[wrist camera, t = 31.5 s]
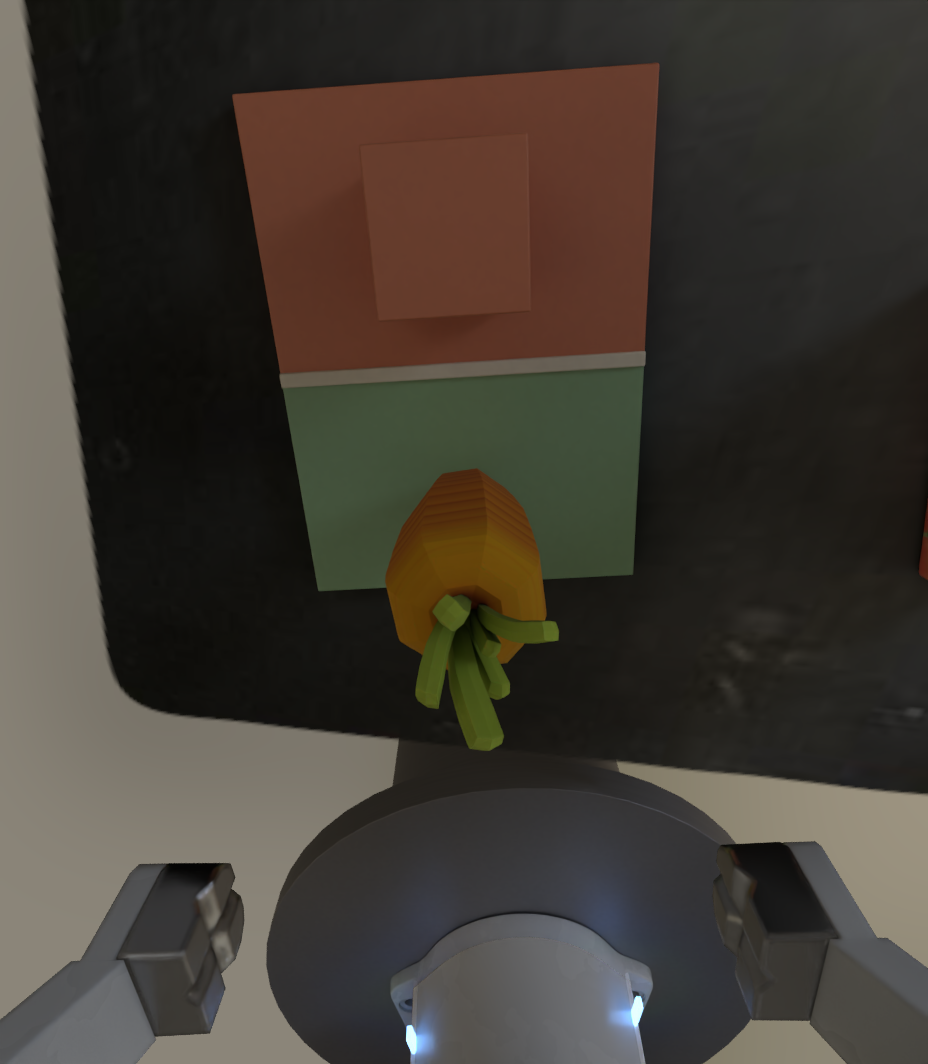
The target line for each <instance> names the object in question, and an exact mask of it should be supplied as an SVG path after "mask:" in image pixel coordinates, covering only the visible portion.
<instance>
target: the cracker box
mask: <svg viewBox="0 0 928 1064" xmlns="http://www.w3.org/2000/svg"><path fill="white" fill-rule="evenodd" d="M919 575H921V576H922V577H924V578H925V579H927V580H928V500H927V509H926V515H925V524H924V533H923V540H922V548H921V556H920V563H919Z"/></svg>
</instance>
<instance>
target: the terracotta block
mask: <svg viewBox="0 0 928 1064" xmlns="http://www.w3.org/2000/svg"><path fill="white" fill-rule="evenodd" d="M359 156H360V165H361V174H362V184H363V193H364V202H365V211H366V220H367V229H368V238H369V247H370V256H371V265H372V274H373V283H374V292H375V301H376V310H377V319H378V321H379V322H386V321H401V320H417V319H432V318H448V317H463V316H479V315H495V314H510V313H526V312H530V311H531V275H530V219H529V163H528V134H527V133H511V134H498V135H484V136H470V137H456V138H442V139H428V140H414V141H400V142H386V143H373V144H361V145H359Z"/></svg>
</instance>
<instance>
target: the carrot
mask: <svg viewBox="0 0 928 1064" xmlns="http://www.w3.org/2000/svg"><path fill="white" fill-rule="evenodd" d="M385 583H386V587H387V591H388V596H389V600H390V604H391V608H392V612H393V617H394V621H395V625H396V629H397V634H398V637H399V640H400V642H402V643H404V644H405V645H407V646H409V647H410V648H412V649H414V650H415V651H417V652H419V653H420V654H422V655H423V656H422V660H421V663H420V667H419V673H418V678H417V683H416V695H415V696H416V698H417V700H418V701H419V702H421V703H422V704H423V705H425V706H426V707H428V708H436V709H438V707H439V702H440V697H441V692H442V687H443V682H444V676H445V671H446V669H447V670H448V673H449V684H450V691H451V695H452V698H453V702H454V706H455V709H456V713H457V717H458V720H459V723H460V726H461V729H462V731H463V734H464V737H465V739H466V742H467V745H468V747H469V749H476V750H483V751H489V750H491V749H493V748H495V747H497V746H499V745H500V744H502V741H503V738H504V735H503V732H502V729H501V726H500V724H499V721H498V718H497V715H496V713H495V710H494V707H493V705H492V702H491V700H490V698H489V697H491V698H493V699H496V700H498V699H501V698H503V697H505V696H507V695H508V694H509V693H510V683H509V680H508V678H507V676H506V674H505V672H504V670H503V668H502V666H501V664H503V663H507V662H508V661H509V660H510V659H511V658H512V657H513V656H514V655H515V654H516V652H517V651H518V650H519V649H520V648H521V647H522V646H523V645H524V644H525V643H544V642H550V641H557V640H558V637H559V630H558V627H557V624H556V622H553V621H545V618H546V604H545V596H544V588H543V580H542V572H541V564H540V556H539V551H538V548H537V545H536V542H535V538H534V535H533V532H532V529H531V526H530V524H529V521H528V518H527V516H526V513H525V511H524V509H523V507H522V506H521V505H520V503H519V502H518V501H517V500H516V498H515V497H514V496H513V495H512V494H511V493H510V492H509V491H508V490H507V489H506V488H505V487H503V486H502V485H500V484H499V483H498V482H496V481H495V480H493V479H492V478H490V477H489V476H487V475H486V474H485V473H483V472H482V471H480V470H479V469H477V468H475V469H469V470H462V471H456V472H449V473H443V474H442V475H441V476H440V477H439V478H438V479H437V480H436V481H435V482H434V484H433V485H432V486H431V488H430V489H429V491H428V492H427V493H426V495H425V496H424V497H423V499H422V500H421V501H420V503H419V504H418V505H417V507H416V508H415V509H414V511H413V512H412V513H411V515H410V516H409V518H408V519H407V520H406V522H405V523H404V525H403V526H402V528H401V531H400V533H399V536H398V539H397V541H396V544H395V547H394V549H393V553H392V556H391V559H390V562H389V566H388V569H387V572H386V575H385Z"/></svg>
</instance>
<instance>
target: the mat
mask: <svg viewBox="0 0 928 1064" xmlns="http://www.w3.org/2000/svg"><path fill="white" fill-rule="evenodd" d="M658 82H659V63H649V64H635V65H622V66H608V67H595V68H581V69H568V70H554V71H540V72H527V73H513V74H500V75H486V76H473V77H459V78H446V79H432V80H419V81H405V82H392V83H378V84H365V85H351V86H337V87H324V88H310V89H297V90H283V91H270V92H256V93H243V94H234V95H233V96H232V98H233V104H234V110H235V115H236V121H237V127H238V133H239V138H240V144H241V150H242V155H243V161H244V167H245V173H246V178H247V184H248V190H249V196H250V201H251V207H252V213H253V219H254V224H255V230H256V236H257V241H258V247H259V253H260V259H261V264H262V270H263V276H264V282H265V287H266V293H267V299H268V305H269V310H270V316H271V322H272V327H273V333H274V339H275V345H276V350H277V356H278V362H279V368H280V373H281V374H280V375H279V376H280V382H281V387H282V388H283V391H284V397H285V403H286V409H287V414H288V420H289V426H290V432H291V437H292V443H293V449H294V455H295V460H296V466H297V472H298V477H299V483H300V489H301V495H302V500H303V506H304V512H305V518H306V523H307V529H308V535H309V540H310V546H311V552H312V558H313V563H314V569H315V575H316V581H317V586H318V591H330V590H349V589H368V588H387V587H386V583H385V575H386V572H387V569H388V566H389V562H390V559H391V556H392V553H393V549H394V547H395V544H396V541H397V539H398V536H399V533H400V531H401V528H402V526H403V525H404V523H405V522H406V520H407V519H408V518H409V516H410V515H411V513H412V512H413V511H414V509H415V508H416V507H417V505H418V504H419V503H420V501H421V500H422V499H423V497H424V496H425V495H426V493H427V492H428V491H429V489H430V488H431V486H432V485H433V484H434V482H435V481H436V480H437V479H438V478H439V477H440V476H441V475H442V474H443V473H449V472H456V471H462V470H469V469H475V468H477V469H479V470H480V471H482V472H483V473H485V474H486V475H487V476H489V477H490V478H492V479H493V480H495V481H496V482H498V483H499V484H500V485H502V486H503V487H505V488H506V489H507V490H508V491H509V492H510V493H511V494H512V495H513V496H514V497H515V498H516V500H517V501H518V502H519V503H520V505H521V506H522V507H523V509H524V511H525V513H526V516H527V518H528V521H529V524H530V526H531V529H532V532H533V535H534V538H535V542H536V545H537V548H538V551H539V556H540V564H541V572H542V579H559V578H578V577H597V576H616V575H632V574H633V565H634V546H635V527H636V508H637V489H638V469H639V450H640V431H641V412H642V393H643V374H644V366H645V358H646V352H645V332H646V313H647V294H648V275H649V255H650V236H651V217H652V198H653V178H654V159H655V140H656V121H657V102H658ZM511 133H527V134H528V163H529V219H530V275H531V311H530V312H526V313H510V314H495V315H479V316H463V317H448V318H432V319H417V320H401V321H386V322H379V321H378V319H377V310H376V301H375V292H374V283H373V274H372V265H371V256H370V247H369V238H368V229H367V220H366V211H365V202H364V193H363V184H362V174H361V165H360V156H359V145H361V144H373V143H386V142H400V141H414V140H428V139H442V138H456V137H470V136H484V135H498V134H511Z"/></svg>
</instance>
